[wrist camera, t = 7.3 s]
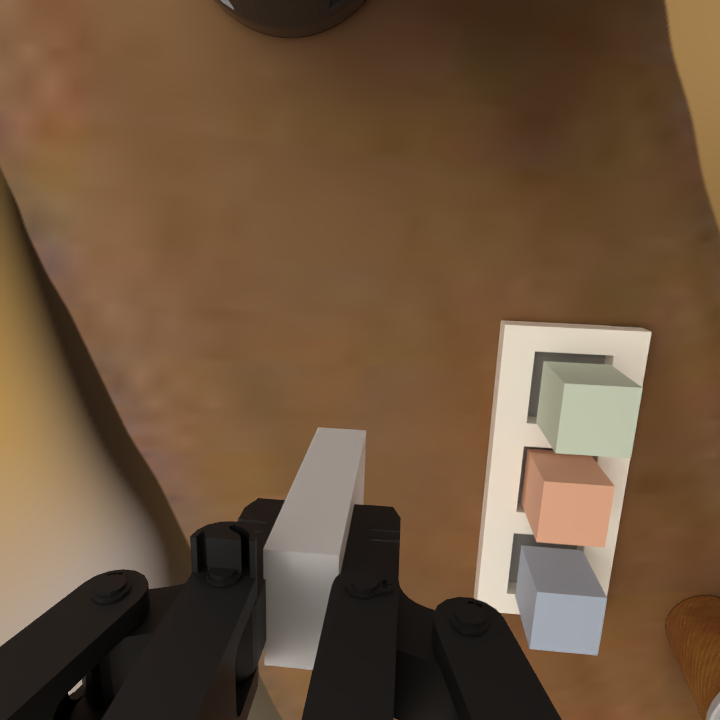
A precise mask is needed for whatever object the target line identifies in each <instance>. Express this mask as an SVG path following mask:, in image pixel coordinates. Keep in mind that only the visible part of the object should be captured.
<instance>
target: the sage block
mask: <svg viewBox="0 0 720 720" xmlns="http://www.w3.org/2000/svg"><path fill="white" fill-rule="evenodd" d="M642 389H643V388H642V387H641V386H639V385H638V384H637V383H635V382H634V381H633V380H631V379H630V378H628V377H627V376H626V375H624V374H623V373H621V372H620V371H619V370H617V369H616V368H615V367H613V366H612V365H606V364H588V363H569V362H551V361H544V362H543V370H542V379H541V387H540V395H539V404H538V412H537V420H536V423H537V424H538V426H539V428H540V429H541V431H542V432H543V434H544V436H545V437H546V439H547V441H548V442H549V444H550V445H551V447H552V449H553V450H554V452H555V453H559V454H574V455H589V456H603V457H618V458H631V454H632V448H633V443H634V437H635V431H636V425H637V419H638V413H639V407H640V401H641V395H642Z"/></svg>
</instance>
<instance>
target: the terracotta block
mask: <svg viewBox="0 0 720 720" xmlns="http://www.w3.org/2000/svg"><path fill="white" fill-rule="evenodd" d="M614 489H615V486H614V485H613V483H612V482H611V481H610V479H609V478H608V477H607V475H606V474H605V473H604V472H603V470H602V469H601V468H600V466H599V465H598V464H597V462H596V461H595V460H594V458H593V457H592V456H589V455H574V454H559V453H555V452H554V450H542V449H527V457H526V465H525V474H524V482H523V491H522V499H521V504H522V506H523V509H524V511H525V514H526V517H527V519H528V522H529V524H530V527H531V529H532V532H533V535H534V537H535V540H536V542H542V543H554V544H567V545H579V546H592V547H604V548H605V544H606V538H607V532H608V525H609V519H610V513H611V507H612V501H613V495H614Z"/></svg>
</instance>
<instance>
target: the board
mask: <svg viewBox="0 0 720 720" xmlns="http://www.w3.org/2000/svg"><path fill="white" fill-rule="evenodd" d="M650 338H651V331H648V330H646V329H644V328H642V327H629V326H608V325H588V324H567V323H547V322H527V321H506V320H501V325H500V335H499V345H498V355H497V366H496V376H495V386H494V396H493V406H492V416H491V426H490V436H489V446H488V456H487V467H486V477H485V487H484V497H483V507H482V517H481V527H480V537H479V547H478V558H477V568H476V578H475V588H474V599H476V600H480V601H483V602H485V603H487V604H489V605H490V606H492V607H493V608H495V609H496V610H497V611H498V612H499V613H510V614H520V612H519V609H518V605H517V602H516V598H515V594H516V586H517V577H518V569H519V561H520V553H521V545H522V546H535V547H547V548H559V549H572V550H583V552H584V554H585V556H586V558H587V560H588V562H589V564H590V566H591V568H592V570H593V572H594V573H595V575H596V577H597V579H598V581H599V583H600V585H601V587H602V589H603V591H604V593H605V595H606V597H607V593H608V587H609V581H610V575H611V570H612V564H613V558H614V552H615V546H616V540H617V534H618V528H619V522H620V516H621V510H622V504H623V498H624V492H625V487H626V481H627V475H628V469H629V463H630V458H618V457H603V456H592V457H593V458H594V460H595V461H596V462H597V464H598V465H599V466H600V468H601V469H602V470H603V472H604V473H605V474H606V475H607V477H608V478H609V479H610V481H611V482H612V483H613V485H614V486H615V489H614V495H613V501H612V507H611V513H610V519H609V525H608V532H607V538H606V544H605V548H604V547H592V546H579V545H567V544H554V543H542V542H536V540H535V537H534V535H533V532H532V529H531V527H530V524H529V522H528V519H527V517H526V514H525V511H524V509H523V506H522V504H521V499H522V491H523V482H524V474H525V465H526V457H527V449H542V450H553V449H552V447H551V445H550V444H549V442H548V441H547V439H546V437H545V436H544V434H543V432H542V431H541V429H540V428H539V426H538V424H537V423H536V420H537V412H538V404H539V395H540V387H541V379H542V370H543V362H544V361H551V362H569V363H588V364H606V365H612V366H613V367H615V368H616V369H617V370H619V371H620V372H621V373H623V374H624V375H626V376H627V377H628V378H630V379H631V380H633V381H634V382H635V383H637V384H638V385H639V386H641V387H642V386H643V380H644V374H645V368H646V362H647V356H648V350H649V344H650Z"/></svg>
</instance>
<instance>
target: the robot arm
mask: <svg viewBox="0 0 720 720" xmlns="http://www.w3.org/2000/svg"><path fill="white" fill-rule="evenodd" d="M215 1H216V2H217V3H218V4H219V5H220V6H221V7H222V8H223V9H224V10H225V11H226V12H227V13H228V14H229V15H230V16H232V17H233V18H234V19H236V20H237V21H238V22H240V23H242V24H243V25H245V26H247V27H249V28H251V29H253V30H255V31H258V32H260V33H263V34H267V35H271V36H276V37H287V38H292V37H304V36H309V35H313V34H316V33H320V32H322V31H325V30H327V29H329V28H331V27H333V26H335V25H337V24H338V23H340V22H342V21H343V20H344V19H346V18H347V17H348V16H350V15H351V14H352V13H353V12H354V11H355V10H356V9H358V8H359V7H360V5H361V4H362V3H363V2H364V1H365V0H215ZM365 446H366V430H351V429H335V428H320V427H318V429H317V431H316V433H315V435H314V437H313V440H312V442H311V444H310V446H309V449H308V451H307V453H306V455H305V457H304V460H303V462H302V464H301V466H300V469H299V471H298V473H297V475H296V477H295V480H294V482H293V484H292V486H291V489H290V491H289V493H288V495H287V497H286V500H275V499H261V498H258V499H257V500H255V501H254V502H252V503H251V504H249V505H248V506H247V507H245V508H244V510H243V512H242V513H241V515H240V517H239V519H238V521H237V522H218V523H213V524H209V525H206V526H204V527H202V528H200V529H198V530H197V531H196V532H195V533H193V534H192V535H191V536H190V541H191V562H192V574H191V575H190V577H189V578H188V580H187V582H186V583H184V584H181V585H176V586H170V587H163V588H156V589H149V588H148V581H147V579H146V577H145V576H144V575H142V574H141V573H139V572H137V571H133V570H124V569H123V570H114V571H109V572H106V573H103V574H100V575H97V576H95V577H93V578H91V579H90V580H88V581H86V582H85V583H83V584H82V585H80V586H79V587H78V588H77V589H75V590H74V591H73V592H71V593H70V594H69V595H67V596H66V597H65V598H63V599H62V600H61V601H60V602H58V603H57V604H56V605H54V606H53V607H52V608H51V609H49V610H48V611H47V612H45V613H44V614H42V615H41V616H40V617H39V618H37V619H36V620H35V621H33V622H32V623H31V624H30V625H28V626H27V627H25V628H24V629H23V630H22V631H20V632H19V633H18V634H16V635H15V636H14V637H12V638H11V639H10V640H8V641H7V642H6V643H5V644H3V645H2V646H1V647H0V720H247V717H248V714H249V711H250V708H251V705H252V702H253V699H254V696H255V693H256V690H257V687H258V677H259V673H258V662H259V659H260V656H261V653H262V651H263V648H264V661H265V665H269V666H279V667H289V668H299V669H309V670H313V671H312V676H311V680H310V685H309V689H308V694H307V698H306V703H305V707H304V712H303V716H302V720H393V718H395V719H398V720H561V718H560V716H559V715H558V713H557V711H556V709H555V707H554V706H553V704H552V702H551V700H550V699H549V697H548V695H547V693H546V692H545V690H544V688H543V686H542V685H541V683H540V681H539V679H538V677H537V676H536V674H535V672H534V670H533V669H532V667H531V665H530V663H529V662H528V660H527V658H526V656H525V655H524V653H523V651H522V649H521V647H520V646H519V644H518V642H517V640H516V639H515V637H514V635H513V633H512V632H511V630H510V628H509V626H508V625H507V623H506V621H505V619H504V618H503V617H502V615H501V614H500V613H499V612H498V611H497V610H496V609H495V608H493V607H492V606H490V605H489V604H487V603H485V602H483V601H480V600H476V599H473V598H464V597H456V598H452V599H447V600H445V601H444V602H442V603H441V604H439V605H438V606H437V608H436V610H432V609H429V608H426V607H424V606H422V605H419V604H417V603H415V602H414V601H412V600H411V599H409V598H408V597H407V596H406V595H405V594H404V593H403V591H402V590H401V588H400V586H399V580H398V575H399V547H400V519H401V518H400V517H399V515H398V514H397V512H396V511H395V509H394V508H393V507H387V506H373V505H363V498H364V472H365ZM81 679H82V683H83V684H82V685H81V686H80V687H79V688H78V689H77V690H76V691H75V692H74V693H72V694H71V695H68V692H69V691H70V690H71V689H72V688H73V687H74V686H75V685H76V684H77V683H78V682H79V681H80V680H81Z"/></svg>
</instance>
